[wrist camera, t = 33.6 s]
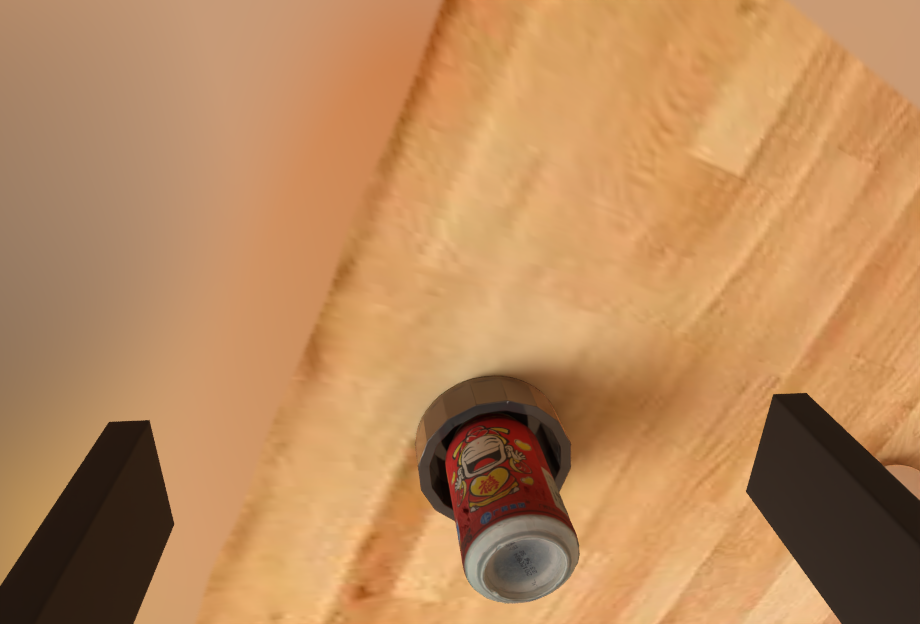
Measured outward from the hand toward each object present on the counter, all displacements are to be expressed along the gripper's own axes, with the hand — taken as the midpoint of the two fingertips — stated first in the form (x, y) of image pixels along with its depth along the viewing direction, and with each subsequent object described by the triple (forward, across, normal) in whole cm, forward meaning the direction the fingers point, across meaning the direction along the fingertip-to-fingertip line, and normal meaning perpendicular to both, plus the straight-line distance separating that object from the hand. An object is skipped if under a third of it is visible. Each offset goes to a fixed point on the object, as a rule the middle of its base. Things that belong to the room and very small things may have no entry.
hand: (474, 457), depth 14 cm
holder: (+28, +5, -21) cm, 35 cm away
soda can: (+28, +5, -21) cm, 35 cm away
